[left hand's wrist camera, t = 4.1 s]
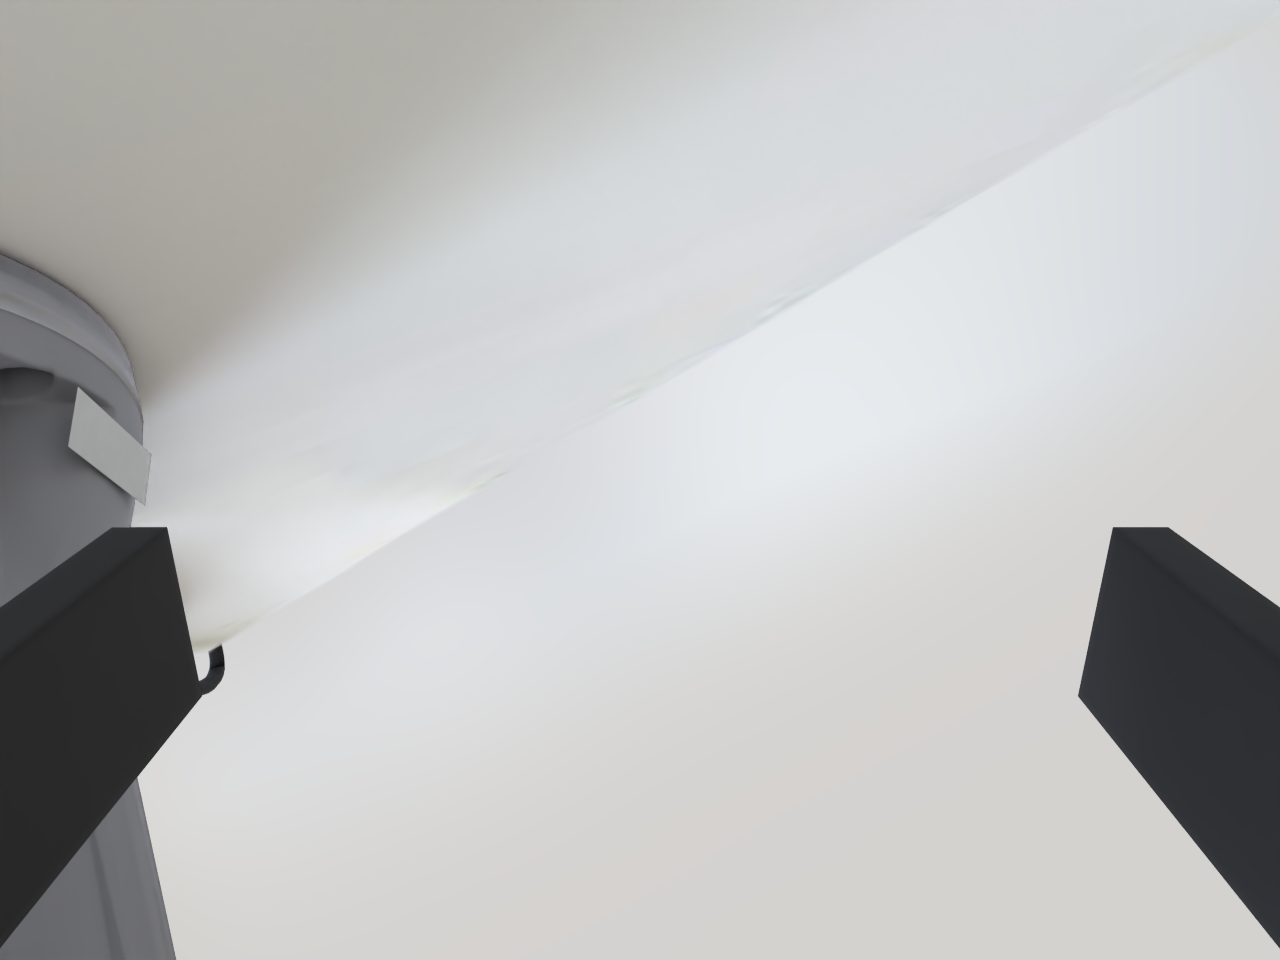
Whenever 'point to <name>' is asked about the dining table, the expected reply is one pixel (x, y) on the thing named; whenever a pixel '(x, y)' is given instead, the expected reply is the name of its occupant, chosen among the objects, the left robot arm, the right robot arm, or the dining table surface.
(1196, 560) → the left robot arm
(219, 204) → the dining table surface
